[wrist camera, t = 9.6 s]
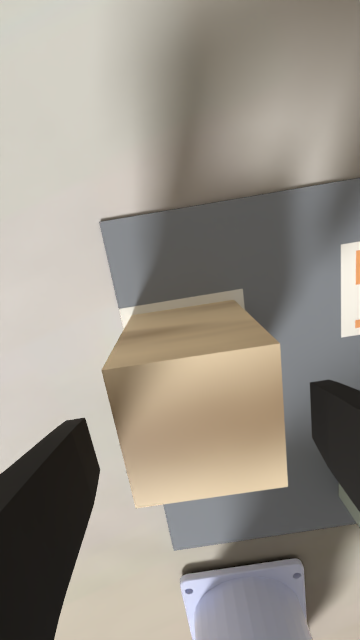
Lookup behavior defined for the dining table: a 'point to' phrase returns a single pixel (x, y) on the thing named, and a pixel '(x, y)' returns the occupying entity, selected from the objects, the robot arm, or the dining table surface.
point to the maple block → (198, 404)
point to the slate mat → (272, 314)
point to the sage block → (349, 505)
